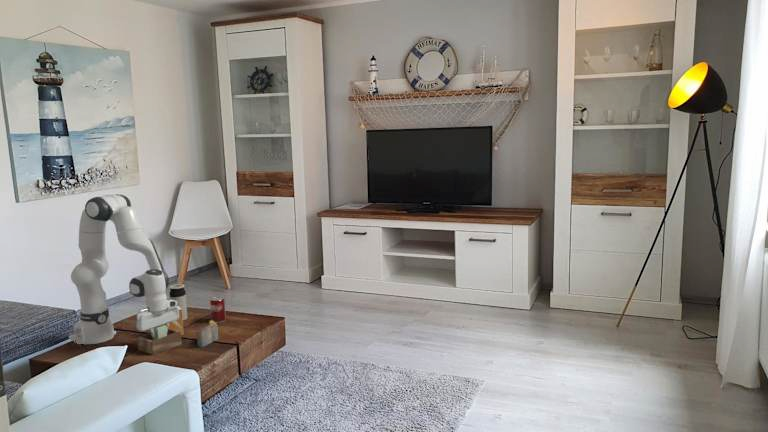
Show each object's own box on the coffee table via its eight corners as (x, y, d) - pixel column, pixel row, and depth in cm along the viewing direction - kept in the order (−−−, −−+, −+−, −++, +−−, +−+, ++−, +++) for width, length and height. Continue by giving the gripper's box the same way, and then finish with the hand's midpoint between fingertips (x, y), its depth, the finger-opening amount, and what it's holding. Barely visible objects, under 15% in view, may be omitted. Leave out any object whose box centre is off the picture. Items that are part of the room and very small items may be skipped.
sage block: (159, 343, 265) (157, 328, 264) (152, 341, 268) (151, 326, 266) (167, 340, 269) (166, 325, 268) (161, 338, 271) (160, 324, 270)
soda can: (221, 323, 298) (219, 301, 297) (208, 322, 300) (207, 300, 299) (228, 319, 305) (227, 296, 303) (216, 318, 307) (214, 296, 306)
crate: (138, 350, 265) (137, 337, 264) (167, 339, 278) (166, 327, 277) (153, 354, 259) (152, 341, 258) (181, 344, 272) (180, 331, 271)
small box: (166, 338, 279) (164, 312, 277) (163, 334, 285) (161, 308, 283) (184, 334, 284) (182, 308, 282) (180, 331, 289) (178, 305, 287)
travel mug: (190, 317, 310) (188, 284, 307) (182, 322, 302) (179, 288, 299) (177, 316, 311) (174, 283, 309) (168, 321, 304) (165, 287, 301)
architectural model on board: (213, 338, 279) (211, 319, 277) (218, 339, 277) (217, 319, 276) (196, 347, 268) (195, 326, 267) (202, 348, 267) (200, 327, 266)
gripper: (140, 312, 255) (143, 342, 257) (180, 300, 272) (182, 328, 274) (132, 310, 259) (135, 340, 261) (171, 298, 275) (174, 326, 278)
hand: (159, 334), depth 268 cm, fingers closed on sage block, 4 cm apart
